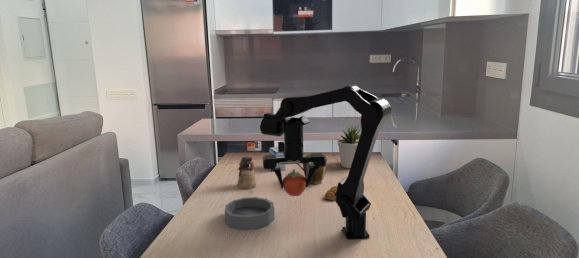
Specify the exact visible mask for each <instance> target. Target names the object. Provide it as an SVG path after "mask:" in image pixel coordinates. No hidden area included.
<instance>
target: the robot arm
mask: <svg viewBox="0 0 579 258" xmlns="http://www.w3.org/2000/svg"><path fill="white" fill-rule="evenodd" d="M343 102H347V103H348V104H349V105H350V106H351V108H353V110H355V111H356V112H357V113H359V114H360V115H361V116H360V132H361V133H360V134H361V135H360V138H359V141H358V145H357V148H356V151H355V154H354V158H353V161H352V164H351V168H350V169H349V171H348V173H347V176H345V177H344V178H342V179H341V180H340V181H338V182H337V185H336V186H337V191H336V193H335V194H334V196H336V200H335V203H336V205H337V207H339V211H340V214H341V216H342V218H345V226H343V227H341V229H342V232H343V233H344V234H343V235H344V236H345V238H346V239H347V240H353V239H355V240H356V239H367V238H370V234H369V232H368V231H367V211H369V210H370V208H371V205H372V203H371V202H370V200H369V199H368V198H367V197H366V195H364V193H365V183H364V182H365V180H364V179H365V176H366V173H367V170H368V166H369V162H370V161H371V157H372V154H373V152H374V151H373V150H374V147H375V144H376V141H377V139H378V136H379V133H380V131H382V129H383V127H384V126H385V124H386V122H387V121H388V119H389V117H390V116H391V113H392V106H391V104H390V103H389V101H388V100H386V99H385V98H378V97H377V96H375V95H374V94H372V93H369V92H368V91H365V90H363V89H361V88H360V87H359V86H357V85H355V84H351V85H347V86H344V87H341V88H337V89H333V90H329V91H324V92H319V93H316V94H295V95H292V96H288V97H284V98H283V99H281V102H280V104H279V106H280V107H279V108H278V109H277V111H276V113H272V112H265V113H263V118H262V119H261V122H260V125H259V130H260V132H261V134H262V135H265V136H273V137H283V141H277V147H278V152H283V155H284V158H276V155H269V154H264V155H263V156H262V168H263V170H270V172H272V173H273V172H274V174H275V176H276V178H277V179H278V182H279V185H280V188H281V189H282V190H283V189H284V188H283V176H282V171H281V169H280V164H285V165H294V164H296V165H297V164H303V163H307V172H306V188H308V187H309V185H310V184H309V182H310V180H311V177H312V175H313V174H314V172H315V170H316V169H319V167H322V166H326V167H327V163H326V158H325V156H324V155H325V154H323V153H322V152H311V153H310V154H311V155H310V157H303V155H304V126H305V125H308V124H311V122H310V120H309V119H308V118H307V117H306V116H305V115H301V114H304V113H306V112H308V111H310V110H312V109H315V108H316V109H317V108H320V107H324V106H328V105H333V104H337V103H338V104H339V103H343ZM298 115H300V117H295V116H298ZM287 118H289V119H287Z"/></svg>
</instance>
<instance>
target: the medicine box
mask: <svg viewBox="0 0 579 258" xmlns="http://www.w3.org/2000/svg"><path fill="white" fill-rule="evenodd" d="M268 149H269V150H268V153H269V154H268V155H276V158H284V155H283V152H278V146H275V147H274V146H273V147H269V148H268ZM280 169H281V172H282V171H283V172H284V171H286V164H280Z"/></svg>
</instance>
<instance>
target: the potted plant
mask: <svg viewBox="0 0 579 258" xmlns="http://www.w3.org/2000/svg"><path fill="white" fill-rule="evenodd" d="M357 124H358V123H356V124H355V126H351V127H350V126H349V125H347V124H346V125H345V126H346V127H347V132H346V131H345V130H344V129H343V128H341V130H342V132H343V134H344V135H345V136H343V135H340V137H341V138H335V140H336V141H337V146H338V152H339V153H338V154H339V159H340V164H341V167H343V168H345V169H348V170H350V168H351V164H352V161H353V158H354V154H355V151H356V148H357V145H358V141H359V138H360V135H361V128H359V126H357ZM358 128H359V130H358ZM357 130H358V131H357Z"/></svg>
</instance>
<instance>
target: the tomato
mask: <svg viewBox="0 0 579 258" xmlns="http://www.w3.org/2000/svg"><path fill="white" fill-rule="evenodd" d="M282 182H283V189H284V191H285V193H286V194H287V195H288V196H290V197H299V196H301V195H302V194H303V193H304V191H305V190H306V188H307V187H306V178H305V175H303V174H302V173H300V172H299V171H296V169H292V171H290V172H289V173H288V174H287V175H285V176H284V177H282Z"/></svg>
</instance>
